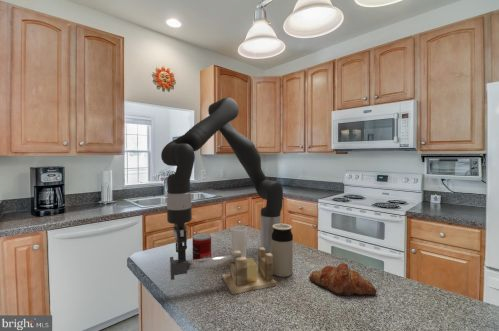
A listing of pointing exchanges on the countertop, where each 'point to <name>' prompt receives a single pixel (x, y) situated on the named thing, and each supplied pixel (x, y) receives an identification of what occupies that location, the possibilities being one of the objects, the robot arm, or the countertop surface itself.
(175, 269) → the shaft
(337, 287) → the pastry
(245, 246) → the drinking glass
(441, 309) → the countertop surface
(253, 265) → the block
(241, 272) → the block
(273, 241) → the travel mug
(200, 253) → the canned food
